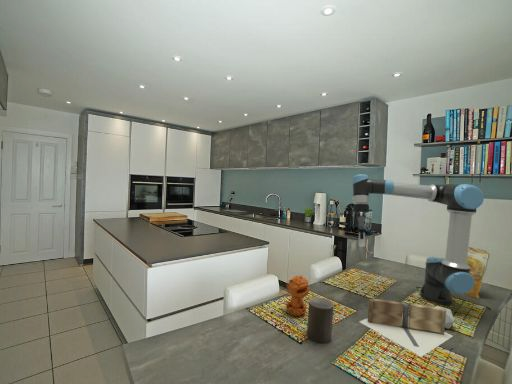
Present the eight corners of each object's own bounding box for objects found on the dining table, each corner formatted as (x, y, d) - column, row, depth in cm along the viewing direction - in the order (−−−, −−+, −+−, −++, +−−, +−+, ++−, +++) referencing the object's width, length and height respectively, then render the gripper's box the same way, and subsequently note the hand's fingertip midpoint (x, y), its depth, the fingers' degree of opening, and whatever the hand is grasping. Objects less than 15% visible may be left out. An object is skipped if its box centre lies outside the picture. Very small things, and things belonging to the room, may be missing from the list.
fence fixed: (402, 328, 112) (404, 304, 112) (401, 325, 114) (402, 302, 114) (445, 335, 109) (447, 310, 108) (442, 332, 111) (444, 308, 110)
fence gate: (400, 325, 114) (402, 302, 114) (401, 327, 112) (403, 304, 112) (367, 319, 117) (368, 297, 117) (368, 322, 115) (369, 299, 115)
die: (454, 327, 117) (442, 304, 122) (463, 327, 110) (449, 302, 115) (435, 332, 118) (423, 308, 124) (442, 331, 111) (429, 307, 116)
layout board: (392, 309, 130) (392, 308, 130) (453, 337, 108) (453, 335, 108) (358, 322, 116) (358, 321, 116) (421, 358, 94) (421, 356, 94)
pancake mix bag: (450, 285, 167) (453, 242, 165) (485, 298, 149) (490, 250, 148) (443, 286, 164) (447, 243, 163) (479, 300, 147) (484, 251, 145)
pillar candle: (317, 345, 98) (320, 307, 97) (302, 331, 106) (304, 296, 106) (336, 339, 102) (339, 302, 102) (320, 326, 111) (322, 292, 110)
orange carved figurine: (308, 320, 115) (311, 281, 114) (284, 316, 117) (286, 278, 116) (308, 308, 126) (310, 272, 125) (286, 305, 128) (288, 269, 127)
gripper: (354, 208, 146) (354, 246, 141) (352, 200, 123) (353, 245, 119) (368, 208, 143) (369, 247, 139) (369, 200, 120) (370, 246, 116)
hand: (361, 246), depth 129 cm, fingers open, 13 cm apart
